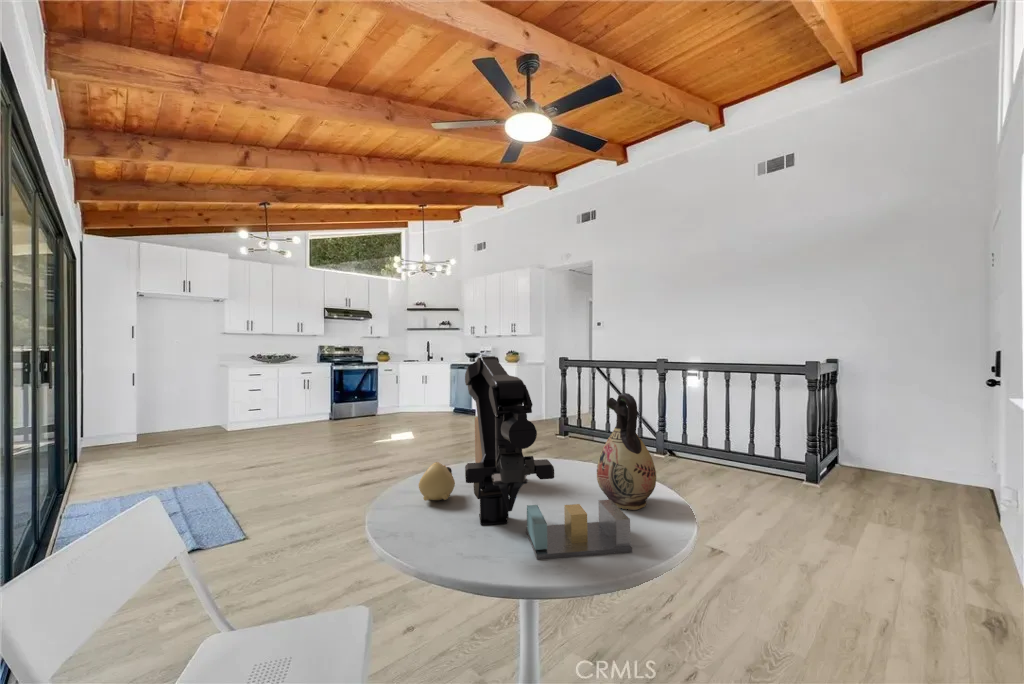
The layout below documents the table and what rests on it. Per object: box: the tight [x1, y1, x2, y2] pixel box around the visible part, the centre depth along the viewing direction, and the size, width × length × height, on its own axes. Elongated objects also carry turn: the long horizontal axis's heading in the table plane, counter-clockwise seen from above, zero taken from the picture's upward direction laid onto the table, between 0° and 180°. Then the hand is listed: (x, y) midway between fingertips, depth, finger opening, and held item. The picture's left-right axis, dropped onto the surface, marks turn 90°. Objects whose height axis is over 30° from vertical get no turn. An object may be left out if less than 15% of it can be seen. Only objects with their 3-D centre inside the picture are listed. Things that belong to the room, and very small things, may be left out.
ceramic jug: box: [596, 392, 657, 511], centre depth 124 cm, size 17×15×30 cm
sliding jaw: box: [526, 504, 548, 550], centre depth 101 cm, size 2×11×5 cm, turn 7°
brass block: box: [563, 503, 588, 543], centre depth 103 cm, size 4×6×6 cm, turn 7°
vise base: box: [525, 499, 633, 561], centre depth 103 cm, size 20×14×6 cm
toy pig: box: [418, 461, 456, 502], centre depth 130 cm, size 10×12×11 cm
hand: (509, 510), depth 101 cm, fingers closed
